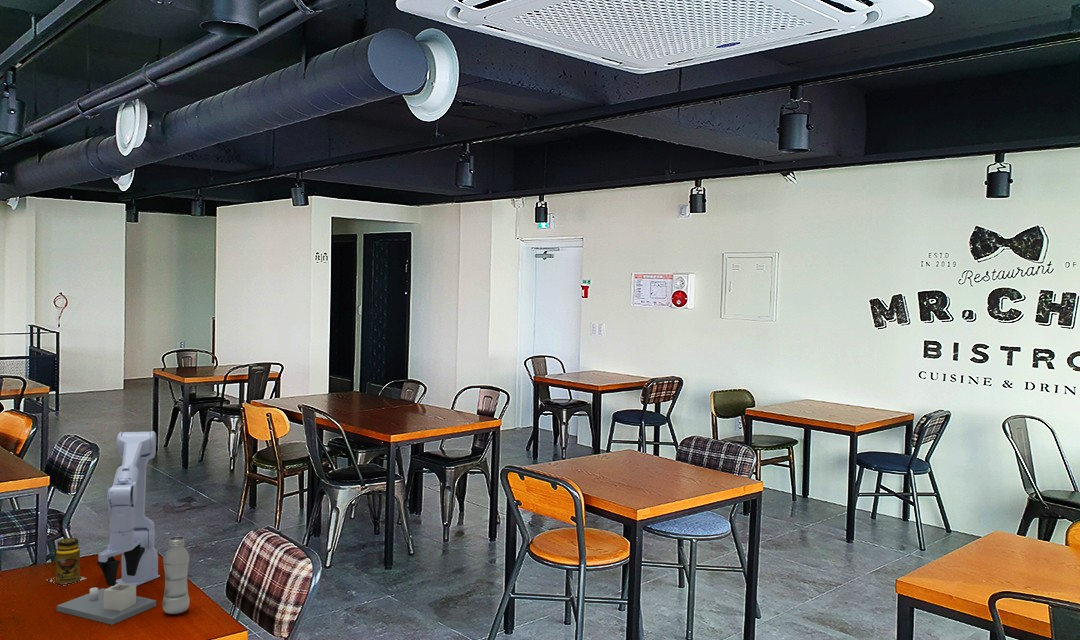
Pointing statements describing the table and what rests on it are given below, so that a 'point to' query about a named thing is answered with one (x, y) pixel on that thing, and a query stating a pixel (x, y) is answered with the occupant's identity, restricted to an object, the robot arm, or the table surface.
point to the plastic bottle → (176, 577)
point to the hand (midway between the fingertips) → (121, 580)
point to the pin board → (102, 607)
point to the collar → (119, 596)
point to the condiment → (68, 561)
